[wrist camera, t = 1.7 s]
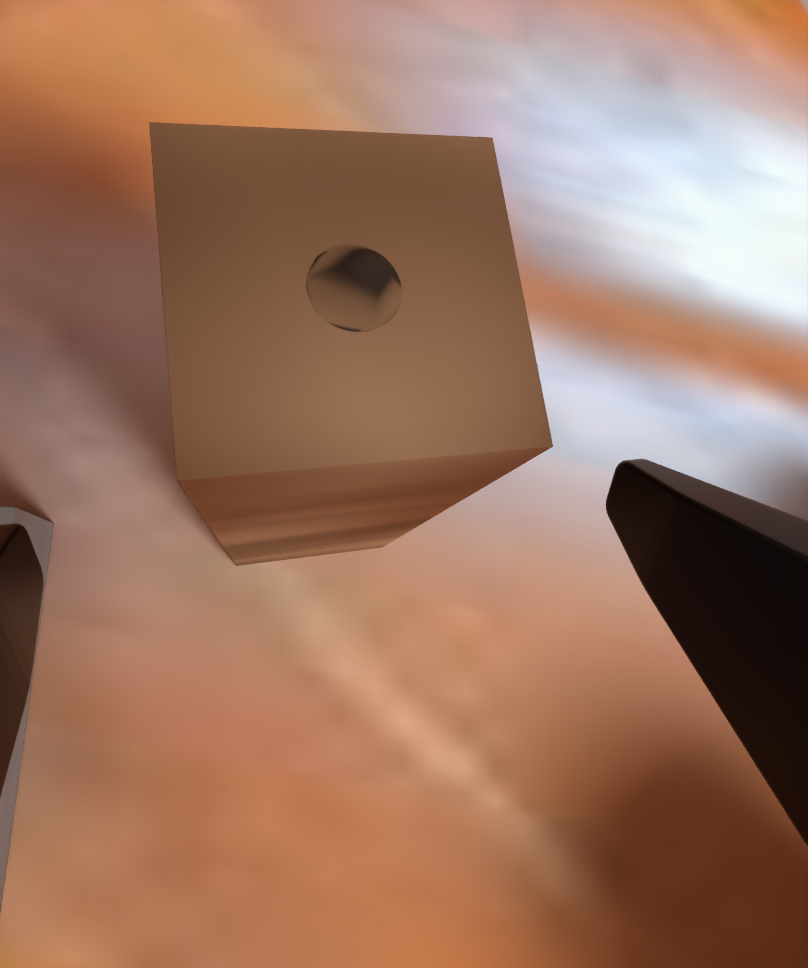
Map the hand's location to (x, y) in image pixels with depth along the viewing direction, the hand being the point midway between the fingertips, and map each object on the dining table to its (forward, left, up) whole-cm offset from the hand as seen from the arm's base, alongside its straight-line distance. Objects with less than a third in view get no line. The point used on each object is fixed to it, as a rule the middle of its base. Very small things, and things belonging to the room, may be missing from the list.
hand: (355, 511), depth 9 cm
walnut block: (+2, 0, -10) cm, 10 cm away
